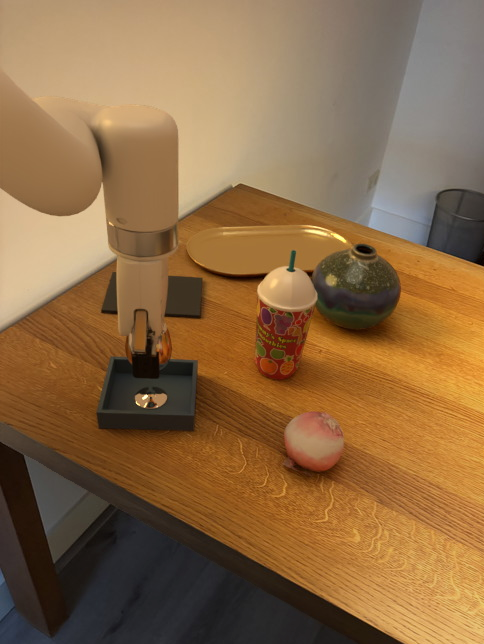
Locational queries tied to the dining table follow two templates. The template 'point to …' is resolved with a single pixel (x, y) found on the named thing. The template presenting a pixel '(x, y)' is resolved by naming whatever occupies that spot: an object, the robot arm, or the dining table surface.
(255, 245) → the serving platter
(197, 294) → the mat
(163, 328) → the wineglass
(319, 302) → the vase
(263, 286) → the smoothie
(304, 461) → the onion
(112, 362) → the tray
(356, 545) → the dining table surface
